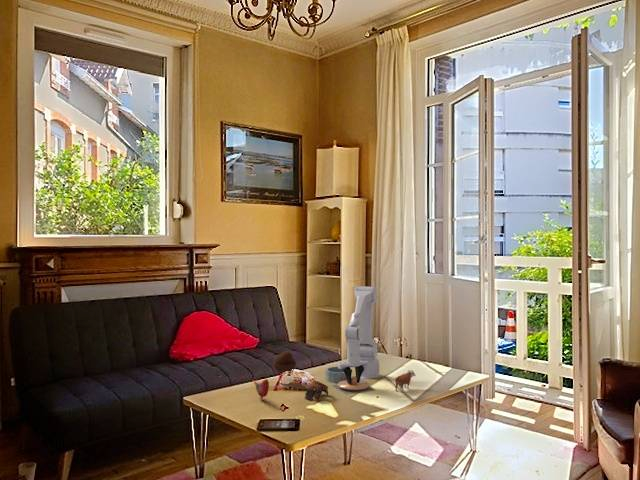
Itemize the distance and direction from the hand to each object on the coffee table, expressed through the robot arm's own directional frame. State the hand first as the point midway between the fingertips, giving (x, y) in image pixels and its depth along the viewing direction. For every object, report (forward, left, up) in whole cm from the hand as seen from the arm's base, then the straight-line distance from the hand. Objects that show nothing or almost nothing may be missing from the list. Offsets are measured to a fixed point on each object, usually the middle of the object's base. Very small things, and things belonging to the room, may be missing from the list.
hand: (353, 383), depth 248 cm
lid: (0, 0, -2) cm, 2 cm away
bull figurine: (-20, +11, -3) cm, 23 cm away
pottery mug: (+21, +6, -3) cm, 22 cm away
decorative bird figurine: (+43, -2, -3) cm, 43 cm away
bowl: (0, -15, -2) cm, 15 cm away
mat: (0, 0, -2) cm, 2 cm away
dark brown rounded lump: (+25, -21, -3) cm, 33 cm away
